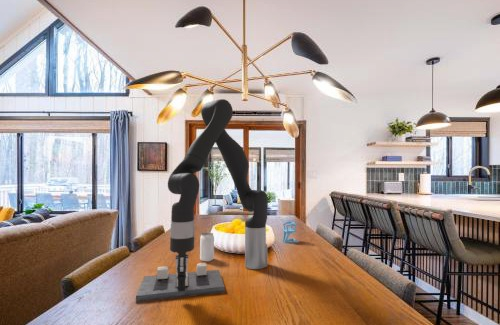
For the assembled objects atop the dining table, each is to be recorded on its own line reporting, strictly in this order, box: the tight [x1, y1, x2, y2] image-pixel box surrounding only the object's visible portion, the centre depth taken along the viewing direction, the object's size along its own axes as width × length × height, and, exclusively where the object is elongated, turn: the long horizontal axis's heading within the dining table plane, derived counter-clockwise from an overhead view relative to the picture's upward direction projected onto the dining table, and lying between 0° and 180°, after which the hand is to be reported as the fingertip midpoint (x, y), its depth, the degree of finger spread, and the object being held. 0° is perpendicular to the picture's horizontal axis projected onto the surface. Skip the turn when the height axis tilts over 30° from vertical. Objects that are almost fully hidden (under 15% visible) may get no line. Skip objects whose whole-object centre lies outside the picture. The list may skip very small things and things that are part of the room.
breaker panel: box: [135, 269, 225, 303], centre depth 91 cm, size 28×16×2 cm, turn 104°
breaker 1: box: [156, 265, 169, 279], centre depth 94 cm, size 4×2×4 cm, turn 104°
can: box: [199, 232, 215, 263], centre depth 121 cm, size 6×6×12 cm
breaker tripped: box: [177, 272, 188, 287], centre depth 87 cm, size 4×2×4 cm, turn 104°
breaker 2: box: [196, 262, 208, 276], centre depth 97 cm, size 4×2×4 cm, turn 104°
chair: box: [282, 221, 300, 244], centre depth 154 cm, size 8×8×12 cm
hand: (181, 290), depth 81 cm, fingers closed
